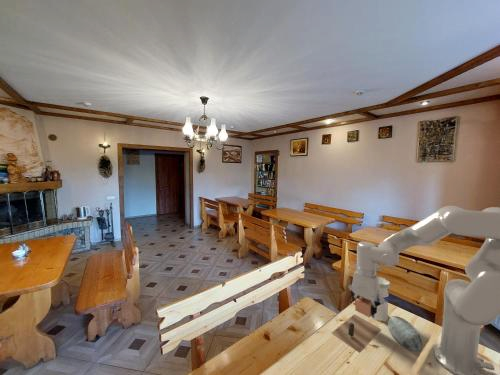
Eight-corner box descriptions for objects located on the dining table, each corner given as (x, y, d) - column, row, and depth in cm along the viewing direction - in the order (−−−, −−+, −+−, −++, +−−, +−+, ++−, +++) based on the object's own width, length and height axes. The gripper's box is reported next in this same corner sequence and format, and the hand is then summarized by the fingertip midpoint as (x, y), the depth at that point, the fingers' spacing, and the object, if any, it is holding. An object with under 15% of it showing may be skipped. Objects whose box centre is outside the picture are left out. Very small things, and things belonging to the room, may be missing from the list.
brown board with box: (354, 317, 102) (355, 302, 102) (381, 332, 93) (382, 316, 92) (331, 336, 90) (331, 320, 90) (359, 356, 81) (360, 338, 80)
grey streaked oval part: (433, 350, 80) (418, 324, 82) (410, 360, 80) (395, 334, 82) (411, 331, 93) (398, 309, 95) (391, 340, 94) (379, 318, 96)
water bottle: (363, 313, 105) (366, 265, 103) (378, 311, 106) (381, 264, 104) (376, 325, 97) (379, 273, 95) (392, 323, 98) (396, 272, 96)
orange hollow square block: (361, 305, 98) (361, 294, 97) (375, 311, 93) (375, 300, 92) (355, 310, 94) (355, 299, 94) (369, 317, 89) (369, 306, 89)
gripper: (342, 266, 97) (342, 303, 98) (384, 281, 83) (383, 324, 84) (351, 261, 101) (350, 297, 102) (392, 275, 87) (390, 316, 89)
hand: (365, 309), depth 93 cm, fingers closed on orange hollow square block, 5 cm apart
